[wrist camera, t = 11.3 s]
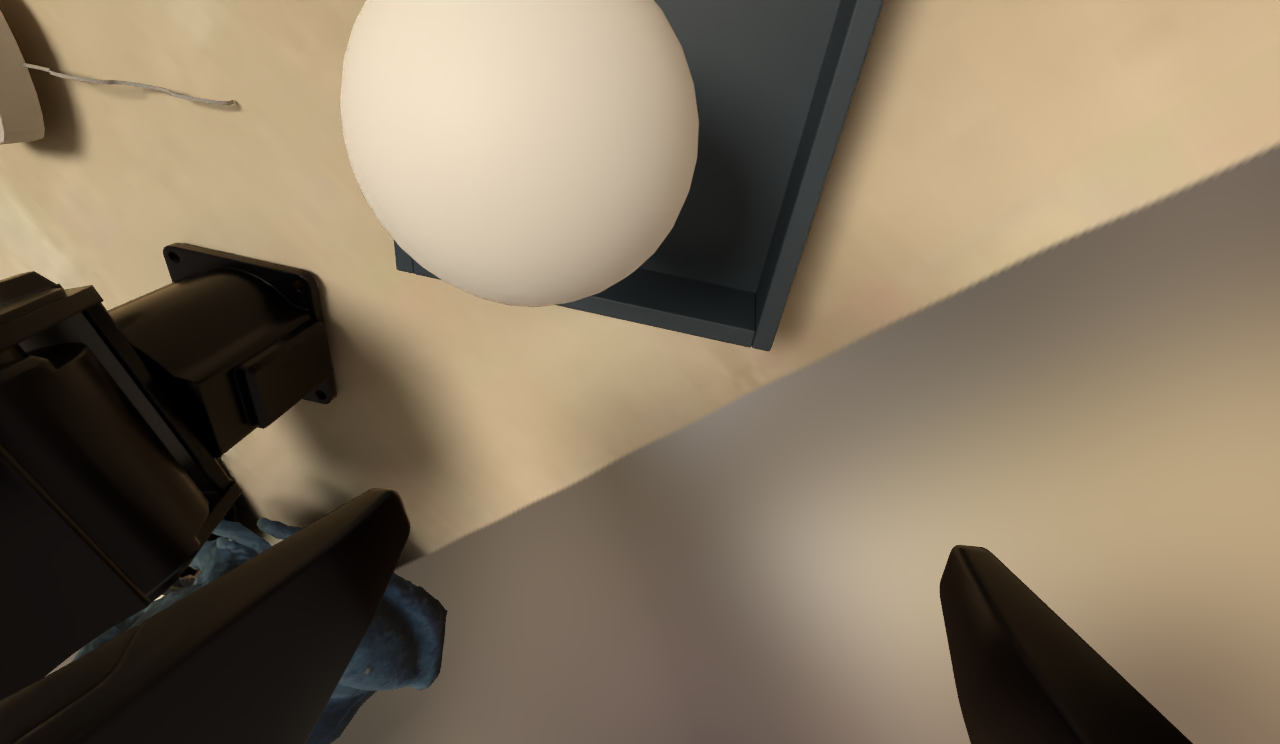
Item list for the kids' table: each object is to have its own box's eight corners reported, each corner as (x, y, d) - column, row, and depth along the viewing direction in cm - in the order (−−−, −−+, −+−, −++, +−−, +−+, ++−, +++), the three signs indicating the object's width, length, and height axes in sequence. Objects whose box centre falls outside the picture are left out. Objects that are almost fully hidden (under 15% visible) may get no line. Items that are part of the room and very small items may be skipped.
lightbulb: (763, 49, 15) (775, 70, 6) (658, 233, 19) (564, 426, 9) (570, -76, 15) (263, -260, 6) (496, 138, 18) (224, 246, 9)
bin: (446, 236, 21) (395, 270, 18) (428, -220, 14) (342, -286, 11) (768, 305, 20) (770, 352, 17) (906, -147, 13) (948, -197, 10)
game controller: (-112, -27, 19) (-224, -35, 17) (145, -102, 17) (53, -123, 15) (3, 145, 22) (-80, 158, 20) (238, 104, 20) (173, 112, 17)
